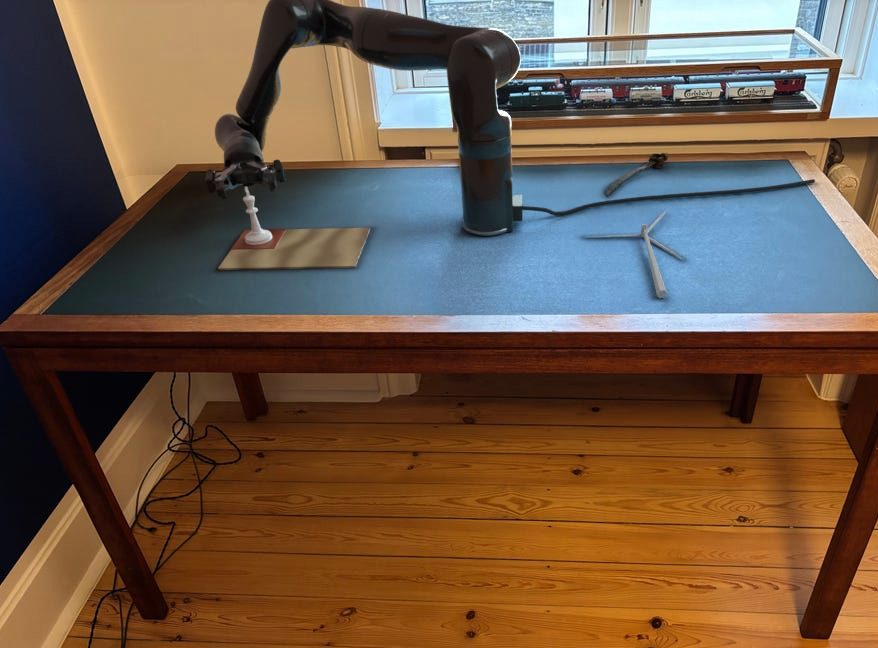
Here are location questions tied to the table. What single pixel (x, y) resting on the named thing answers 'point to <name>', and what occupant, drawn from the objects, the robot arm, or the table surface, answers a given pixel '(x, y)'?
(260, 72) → the robot arm
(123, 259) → the table surface
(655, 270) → the wind turbine model
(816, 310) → the table surface
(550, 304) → the table surface
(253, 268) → the corner board
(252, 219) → the chess piece
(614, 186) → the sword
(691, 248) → the table surface
